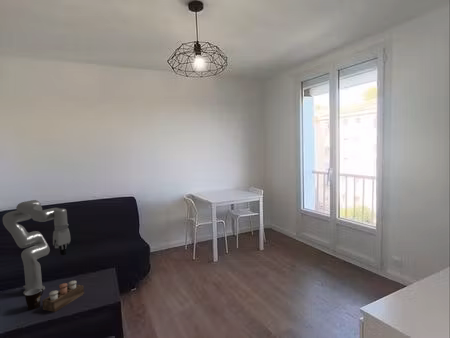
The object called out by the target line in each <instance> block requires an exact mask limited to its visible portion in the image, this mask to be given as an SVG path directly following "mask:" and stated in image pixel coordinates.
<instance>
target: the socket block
mask: <svg viewBox="0 0 450 338" xmlns="http://www.w3.org/2000/svg"><path fill="white" fill-rule="evenodd" d="M84 290H85V289H84V285H82V284H81V285H80V284H76V288H75V289H73V290H71V289H70V288H69V285H68V286H67V293H66V294H64V295H61V294H60V290H57V291H58V298H57V299H56V300H54V301H53V300H50V295H48V297H46V298H44V299H42V300H41V301H42V309H43V310H44V311H49V312H53V313H56V312H57V311H59V310H61V309H62V308H64V307H66V306H68V305H69V304H71V303H72V302H73V301H75V300H77V299H78V298H81V297H82V296H84V295H85V291H84ZM83 294H84V295H83ZM43 310H42V311H43Z"/></svg>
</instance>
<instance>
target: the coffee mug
mask: <svg viewBox="0 0 450 338" xmlns="http://www.w3.org/2000/svg"><path fill="white" fill-rule="evenodd" d="M41 290H42V292H41ZM43 294H44V290H43V289H39V288H37V289H32V290H29V291H27V292H26V293H25V295H24V298H25V302H26V306H27V309H28V310H27V311H34V310H36V309H38V308H40V306H41V301H42V300H41V299H42V295H43Z"/></svg>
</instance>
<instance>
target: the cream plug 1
mask: <svg viewBox="0 0 450 338" xmlns="http://www.w3.org/2000/svg"><path fill="white" fill-rule="evenodd" d="M58 291H59V290H52V291H50V292H49V293H48V296H50V300H53V301H54V300H56V299H57V298H58Z"/></svg>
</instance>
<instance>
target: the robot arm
mask: <svg viewBox="0 0 450 338" xmlns="http://www.w3.org/2000/svg"><path fill="white" fill-rule="evenodd" d="M15 208H16V210H12V211H9V212H7V213H5V214H4V215H3V216H2V224H3V226H4V228H5V229H6V230H7V231H8V232H9V233H10V234H11V236H12V238H13V239H14V242H15V243H16V246H17V247H19V248H20V249H23V251H22V252H21V254H20V257H21V261H22V265H23V271H24V281H25V282H24V284H25V285H23V286H22V287H23V288H24V291H23V295H24V296H25V293H26V292H27V291H29V290H32V289H37V288H39V289H43V291H45V290H46V287H45V285H43V281H42V279H43V277H42V270H41V269H42V268H41V264H40V262H39V261H38V260H39V259H40V258H42V257H46V256H48V255H49V254H50V251H51V249H50V246H49V244H48V243H47V240H46V238H45V237H44V236H43V234H42V233H41V232H40V231H39V230H37V231H36V230H33V231H31V232H28V231H27V229H26V228H25V227H24V226H23V225H22V224H19V223H21V222H24V221H29V220H31V219H32V220H33V221H35V222H39V223H44V222H49V221H53V224H54V225H53V226H54V230H53V232H52V245H53V246H54V249H59V255H60V256H65V255H67V246H68V245H70V244H71V239H72V238H71V232H70V229H69V223H68V212H67V211H68V210H67V209H66V208H60V207H51V208H48V209H43V206H42V204H41V202H40V201H38V200H36V199H33V200H27V201H22V202H19V203H18V204H17V205H16V207H15ZM41 293H42V290H41Z"/></svg>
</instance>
